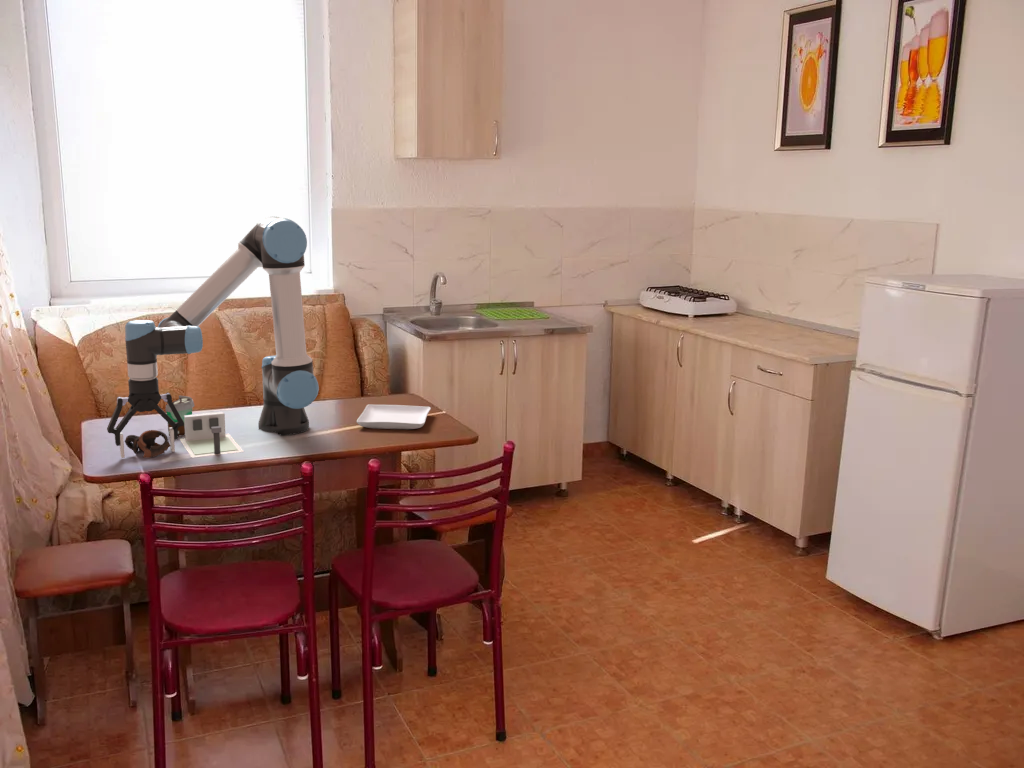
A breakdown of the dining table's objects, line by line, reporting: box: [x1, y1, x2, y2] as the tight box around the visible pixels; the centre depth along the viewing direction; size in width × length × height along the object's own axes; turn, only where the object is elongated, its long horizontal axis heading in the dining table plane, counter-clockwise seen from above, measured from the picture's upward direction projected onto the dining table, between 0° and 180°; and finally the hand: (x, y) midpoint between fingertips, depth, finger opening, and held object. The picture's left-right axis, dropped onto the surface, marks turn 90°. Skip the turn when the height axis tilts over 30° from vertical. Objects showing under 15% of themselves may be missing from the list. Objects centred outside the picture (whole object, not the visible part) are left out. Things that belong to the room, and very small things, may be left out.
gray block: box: [211, 426, 221, 455], centre depth 257 cm, size 2×2×8 cm
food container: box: [165, 395, 195, 437], centre depth 280 cm, size 12×6×10 cm, turn 0°
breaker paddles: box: [193, 418, 219, 431], centre depth 270 cm, size 7×1×3 cm, turn 118°
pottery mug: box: [124, 429, 170, 459], centre depth 257 cm, size 12×10×8 cm
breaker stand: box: [179, 411, 245, 458], centre depth 265 cm, size 14×20×8 cm
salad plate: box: [356, 404, 432, 430], centre depth 297 cm, size 21×21×3 cm
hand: (147, 453), depth 256 cm, fingers open, 12 cm apart
